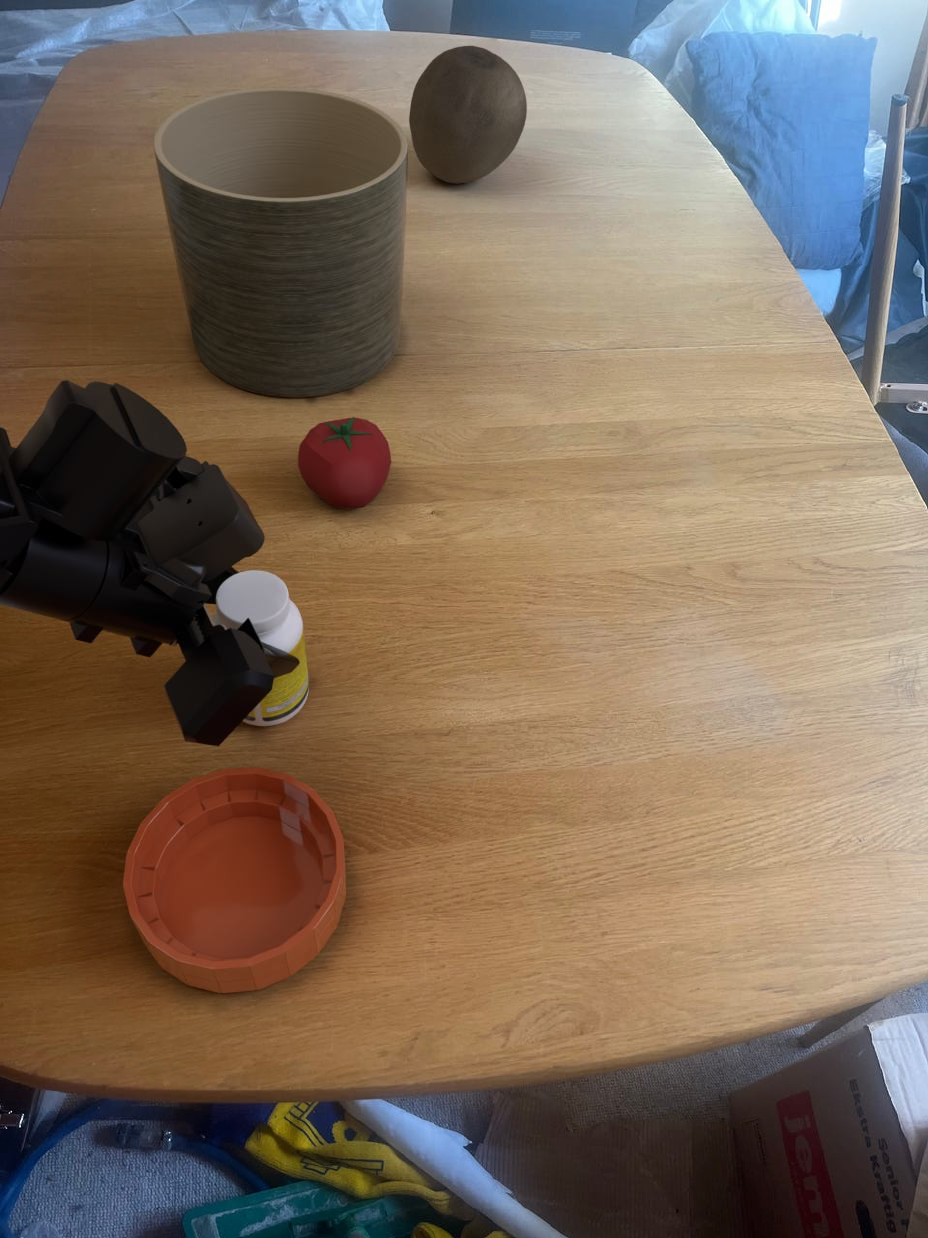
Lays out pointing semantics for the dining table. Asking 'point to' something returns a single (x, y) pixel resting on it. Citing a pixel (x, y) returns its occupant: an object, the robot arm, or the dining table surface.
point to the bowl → (236, 879)
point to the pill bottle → (268, 637)
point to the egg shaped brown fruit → (466, 114)
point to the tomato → (345, 461)
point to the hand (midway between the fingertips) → (277, 632)
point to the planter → (287, 235)
